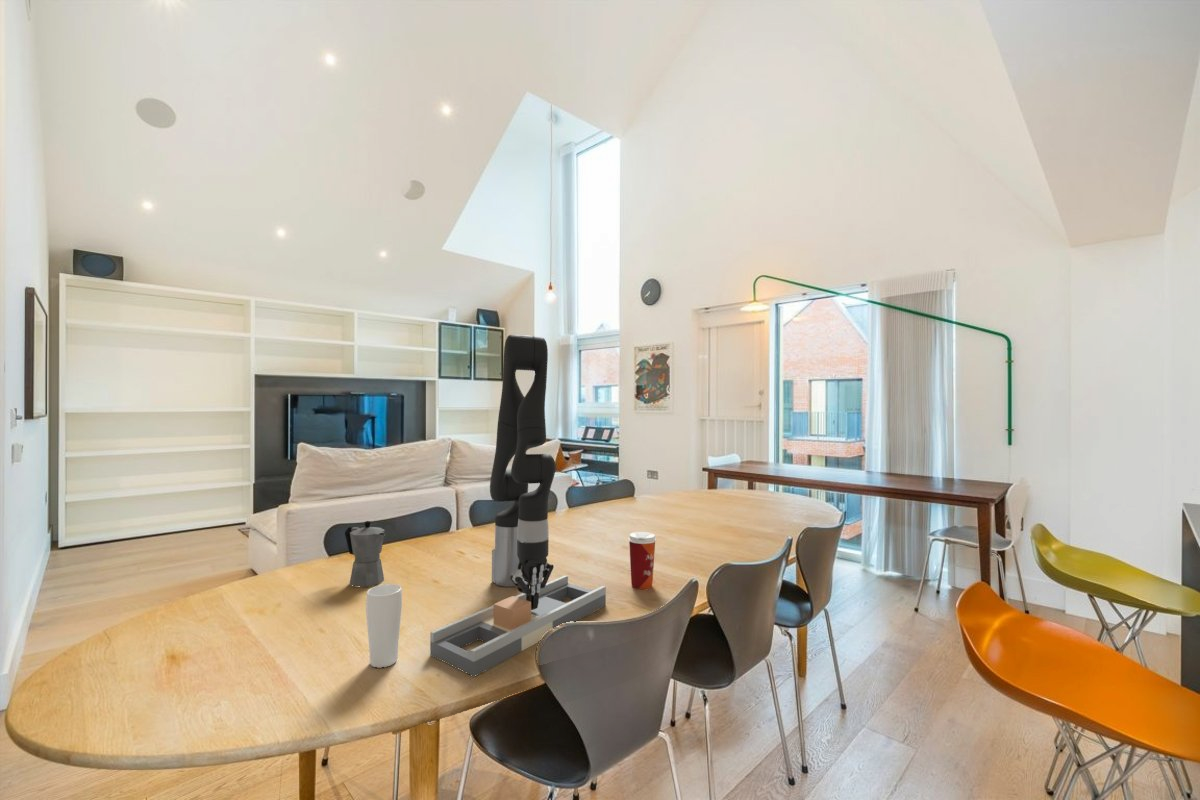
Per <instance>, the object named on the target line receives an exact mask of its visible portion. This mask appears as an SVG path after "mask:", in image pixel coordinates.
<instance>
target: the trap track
mask: <svg viewBox="0 0 1200 800" xmlns="http://www.w3.org/2000/svg"><path fill="white" fill-rule="evenodd" d="M606 591H607V586H605V585H602V586H599V587H597V588H595V589H589V588H586V587H584V586H583V587H582V586H579V585H577V584H572V583H569V575H563V576H561V577H558V578H556V579H553V580H551V581H547V583H546V585H545V587H544V588H541V589H540V592H539V600H538V601H539V603H538V608H536V609H534V610H531V621H529V622H527V623H525V624H523V625H521V626H519V627H517V628H515V629H513V630H509V629H506V628H504V627H501V626H498V625H496V624H493V620H494V604H493V605H491V606H489V607H486V608H484V609H482V610H480V611H477V612H475V613H471V614H470V615H467V616H465V617H463V618H460V619H457V620H455V621H453V622H450V623H449V624H446V625H444V626H441V627H438V628H436V629H433V630H432V631H430V635H429V636H430V647H429V648H430V649H429V650H430V652H429V653H430V654H429V655H430V656H431V655H432V656H431V657H433V656H434V657H433V658H435V657H436V658H435V659H437V658H438V659H437V660H439V659H441V660H443V661H445V662H447V663H449V664H451V665H453V666H454V667H453V666H452V667H453V668H455V667H456V668H455V669H457V668H459V669H461V670H463V671H464V672H463V671H462V672H463V673H465V672H467V673H469V674H470V675H472V676H475V675H477V674H479V673H481V672H482V673H484V672H486V671H488V670H490V669H492V668H493V667H495V666H497V665H499V664H500V662H501V663H503V662H505V661H506V660H508V659H510V658H512V657H514V656H515V655H518V654H519V653H521V652H523V651H525V650H527V649H528V648H530V647H532V646H533V645H536V644H538V643H539V642H540V641H539V640H540V639H541V638H542V636H543V635H544V634H545V633H546V632H547V631H549V630H550V629H552V628H554V627H556V626H558V625H560V624H562V623H566V622H570V621H576V622H578V621H579V620H581V619H580V618H582V619H583V618H585V617H587V616H589V615H590V614H593V613H594V612H596V611H597V610H598V611H599V610H600V609H602V608H603V607H605V606H606V603H607V600H606V598H607V597H606V596H607V594H606ZM514 597H517V598H521V599H524V600H526V594H524V593H520V594H517V595H515V596H514ZM564 599H571V600H570V601H568V602H564V601H563V600H564ZM577 620H578V621H577ZM477 639H481V640H483V641H482V642H484V641H485V642H484V643H482V644H480V645H478V646H476V647H475V648H472V649H470V651H468V650H466V649H464V648H463V647H462V646H464V647H466V646H467V645H466V644H468V645H470V644H472V643H474V642H476V641H475V640H477ZM481 640H480V641H481ZM473 641H474V642H473ZM477 641H478V640H477ZM538 641H539V642H538ZM471 642H472V643H471ZM469 643H470V644H469ZM465 645H466V646H465ZM460 647H462V648H460ZM441 660H440V661H441ZM443 661H442V662H443ZM502 661H503V662H502ZM445 662H444V663H445ZM447 663H446V664H447ZM449 664H448V665H449ZM451 665H450V666H451ZM489 668H490V669H489ZM459 669H458V670H459ZM461 670H460V671H461ZM485 670H486V671H485ZM483 671H484V672H483ZM467 673H466V674H467ZM482 673H481V674H482ZM470 675H469V676H470ZM479 675H480V674H479ZM472 676H471V677H472ZM477 676H478V675H477ZM475 677H476V676H475Z"/></svg>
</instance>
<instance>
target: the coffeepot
mask: <svg viewBox="0 0 1200 800" xmlns="http://www.w3.org/2000/svg"><path fill="white" fill-rule="evenodd" d="M344 536H345V537H344V538H345V541H346V544H347V548H348V553H349V554H350V555H353V556H354V561H353V564H352V569H351V574H350V580H349V584H350V586H351V585H353V586H360V587H363V588H368V587H367V586H371V587H373V586H372V585H375V586H377V585H376V584H378V585H380V584H382V583H383V581H384V580H385V575H384V570H383V565H382V559H381V555H380V553H382V551H383V550H382V549H383V543H384V537H386V533H385V529H383V528H382V527H377V526H375V527H374V526H373V527H372V526H371V521H370V520H366V521H364V527H361V528H360V527H357V526H356V527H355V526H348V527H347V529H345V531H344ZM379 583H380V584H379ZM353 586H352V587H353Z"/></svg>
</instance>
